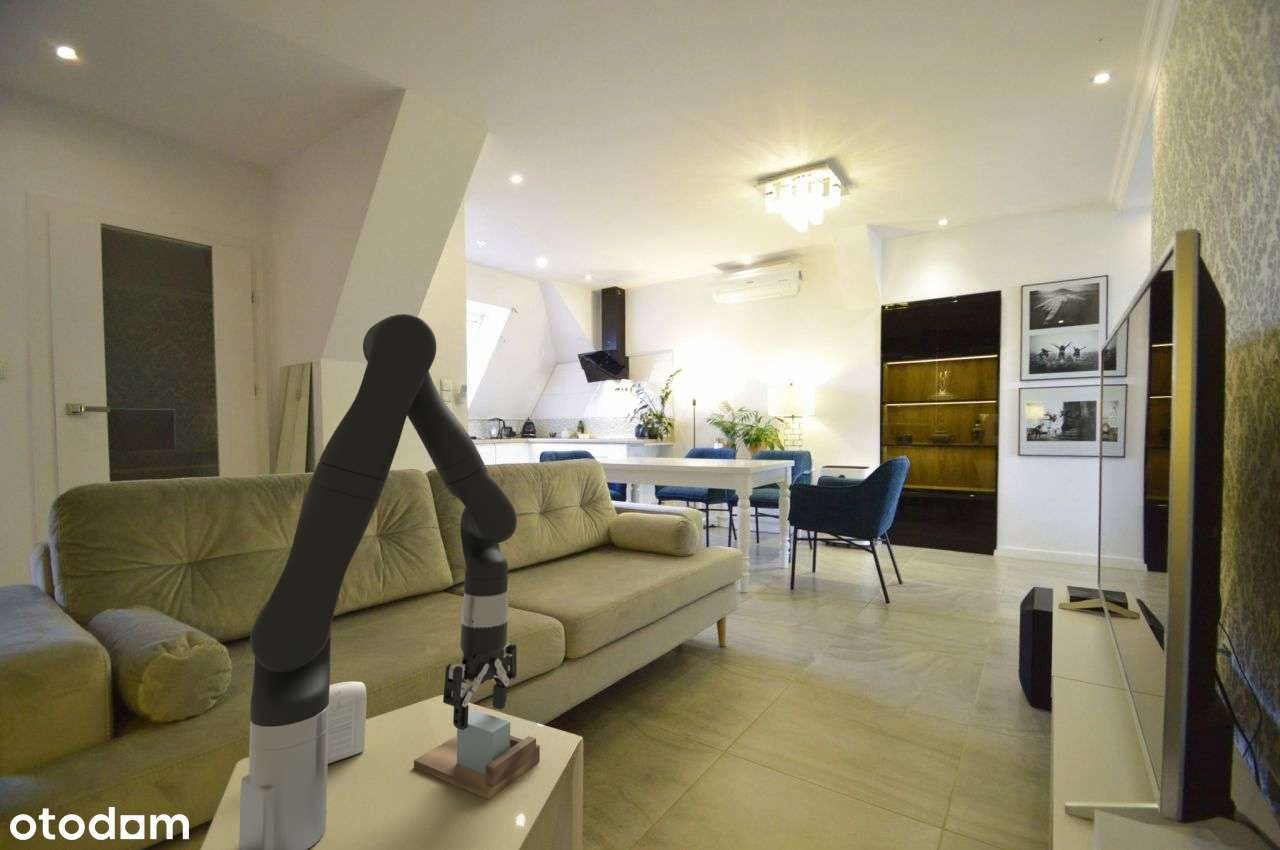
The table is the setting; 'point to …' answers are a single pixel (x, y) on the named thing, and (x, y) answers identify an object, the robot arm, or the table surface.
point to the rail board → (461, 773)
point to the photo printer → (346, 720)
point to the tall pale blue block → (482, 741)
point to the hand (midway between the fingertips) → (480, 717)
